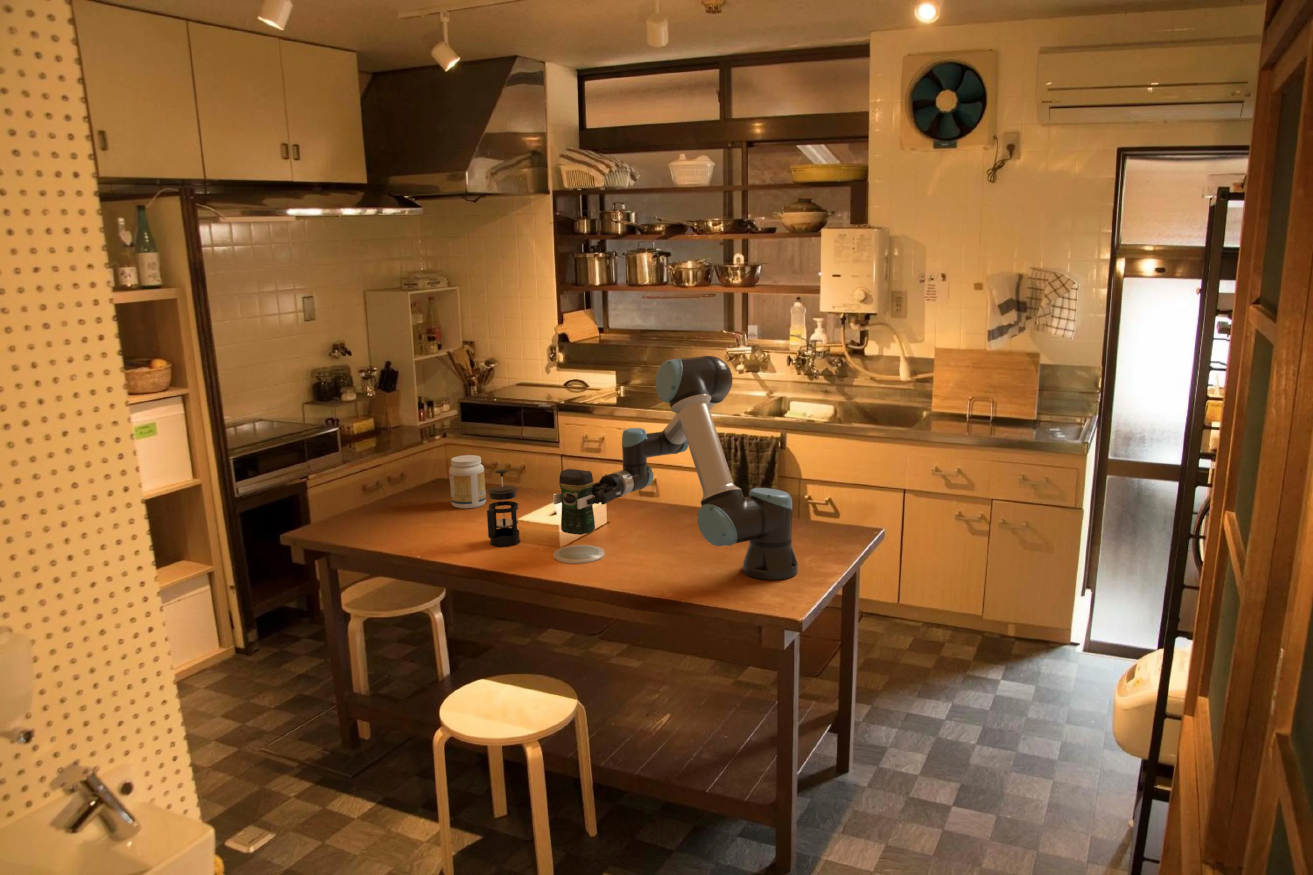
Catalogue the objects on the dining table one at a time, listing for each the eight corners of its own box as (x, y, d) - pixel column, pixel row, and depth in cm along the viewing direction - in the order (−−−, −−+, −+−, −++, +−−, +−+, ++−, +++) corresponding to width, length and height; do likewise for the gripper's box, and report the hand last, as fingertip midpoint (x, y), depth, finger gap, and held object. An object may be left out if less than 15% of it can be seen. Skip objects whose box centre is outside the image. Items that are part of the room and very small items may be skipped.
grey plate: (610, 560, 276) (610, 557, 276) (559, 566, 272) (559, 563, 271) (597, 545, 290) (597, 542, 290) (548, 550, 286) (548, 547, 285)
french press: (505, 535, 301) (502, 464, 297) (528, 540, 296) (525, 468, 291) (479, 545, 292) (475, 472, 287) (502, 550, 287) (498, 476, 282)
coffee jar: (599, 529, 280) (597, 468, 277) (584, 537, 274) (582, 474, 270) (572, 525, 285) (569, 465, 281) (556, 532, 278) (554, 471, 275)
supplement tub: (475, 498, 346) (473, 452, 342) (492, 504, 336) (490, 458, 333) (445, 504, 338) (442, 458, 335) (461, 511, 329) (458, 463, 325)
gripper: (643, 502, 286) (595, 520, 268) (589, 491, 298) (539, 508, 281) (642, 477, 285) (594, 494, 267) (588, 468, 297) (538, 484, 279)
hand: (566, 502), depth 274 cm, fingers closed on coffee jar, 8 cm apart
